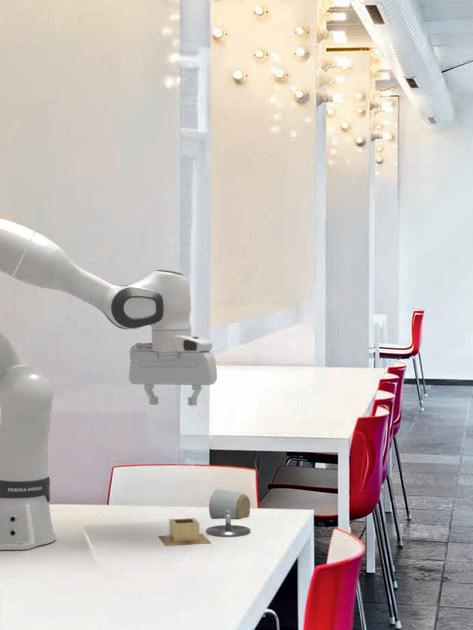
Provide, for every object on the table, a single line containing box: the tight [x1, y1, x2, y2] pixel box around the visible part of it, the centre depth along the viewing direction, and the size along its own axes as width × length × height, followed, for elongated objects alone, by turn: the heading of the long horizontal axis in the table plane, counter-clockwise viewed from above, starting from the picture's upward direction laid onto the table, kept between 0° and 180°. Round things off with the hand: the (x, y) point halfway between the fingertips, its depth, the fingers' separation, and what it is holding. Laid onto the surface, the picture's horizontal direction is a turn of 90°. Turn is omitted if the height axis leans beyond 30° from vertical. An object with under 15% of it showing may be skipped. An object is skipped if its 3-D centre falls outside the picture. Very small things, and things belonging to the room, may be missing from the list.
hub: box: [205, 510, 251, 538], centre depth 250 cm, size 10×10×6 cm
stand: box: [157, 533, 212, 547], centre depth 242 cm, size 10×10×4 cm
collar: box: [168, 517, 200, 543], centre depth 242 cm, size 6×6×4 cm
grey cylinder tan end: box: [208, 488, 251, 520], centre depth 270 cm, size 11×8×8 cm
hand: (173, 405), depth 247 cm, fingers open, 8 cm apart
